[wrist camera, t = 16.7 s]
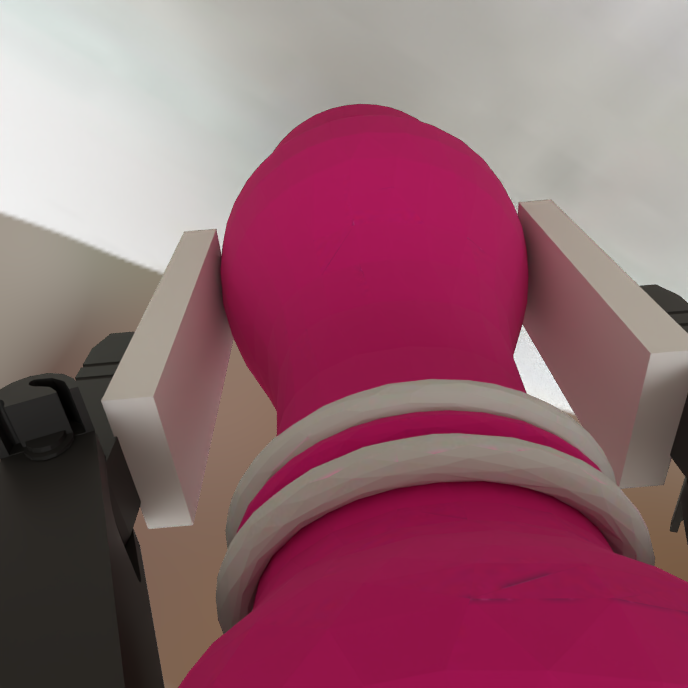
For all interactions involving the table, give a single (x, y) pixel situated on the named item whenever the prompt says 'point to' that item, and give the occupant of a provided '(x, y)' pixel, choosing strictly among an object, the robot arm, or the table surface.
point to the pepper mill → (414, 443)
